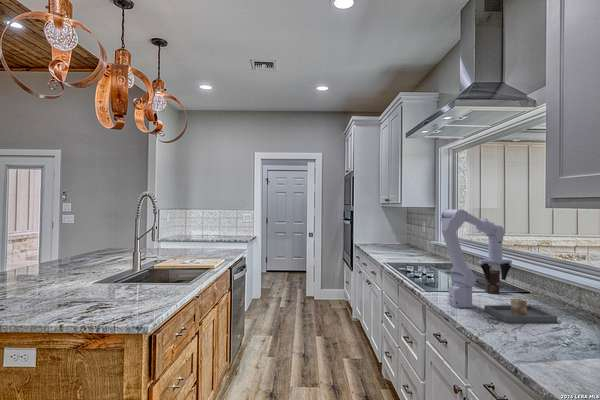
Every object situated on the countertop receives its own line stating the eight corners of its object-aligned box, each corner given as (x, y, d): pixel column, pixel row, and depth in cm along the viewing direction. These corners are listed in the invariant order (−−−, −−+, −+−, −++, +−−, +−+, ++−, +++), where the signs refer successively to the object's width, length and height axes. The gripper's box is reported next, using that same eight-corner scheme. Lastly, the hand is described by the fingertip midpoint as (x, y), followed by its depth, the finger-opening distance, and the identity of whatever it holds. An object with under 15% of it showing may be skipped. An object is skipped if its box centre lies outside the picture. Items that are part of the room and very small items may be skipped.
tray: (505, 323, 142) (505, 316, 142) (484, 311, 158) (484, 305, 158) (557, 322, 142) (557, 316, 142) (530, 310, 158) (530, 305, 158)
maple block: (516, 316, 148) (516, 301, 148) (511, 313, 152) (510, 298, 152) (526, 316, 148) (526, 301, 148) (520, 313, 152) (520, 298, 152)
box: (488, 293, 189) (488, 270, 189) (484, 291, 194) (484, 268, 194) (500, 293, 189) (500, 270, 189) (496, 291, 193) (496, 268, 194)
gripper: (484, 251, 170) (484, 281, 169) (515, 251, 170) (515, 281, 169) (476, 249, 177) (477, 278, 176) (506, 249, 177) (507, 278, 177)
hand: (495, 279), depth 173 cm, fingers open, 7 cm apart
